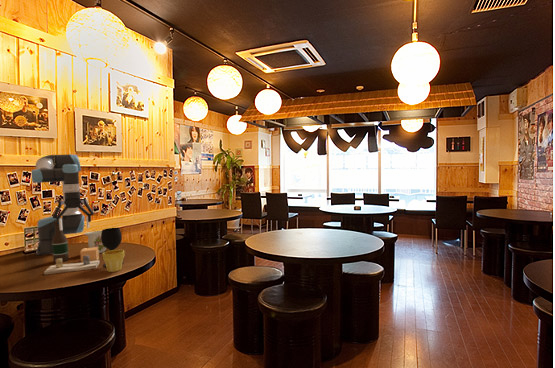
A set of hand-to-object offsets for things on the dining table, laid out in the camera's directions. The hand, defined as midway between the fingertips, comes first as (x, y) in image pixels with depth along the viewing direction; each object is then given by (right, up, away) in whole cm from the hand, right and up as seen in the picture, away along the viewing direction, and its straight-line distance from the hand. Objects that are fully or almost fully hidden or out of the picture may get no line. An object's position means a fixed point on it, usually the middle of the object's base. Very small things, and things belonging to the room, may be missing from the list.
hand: (74, 229), depth 191 cm
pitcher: (-1, -19, +28) cm, 34 cm away
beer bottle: (-14, -21, +10) cm, 27 cm away
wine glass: (+23, -20, -2) cm, 30 cm away
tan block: (+5, -20, +7) cm, 21 cm away
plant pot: (+29, -20, -13) cm, 38 cm away
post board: (+4, -21, -7) cm, 22 cm away
